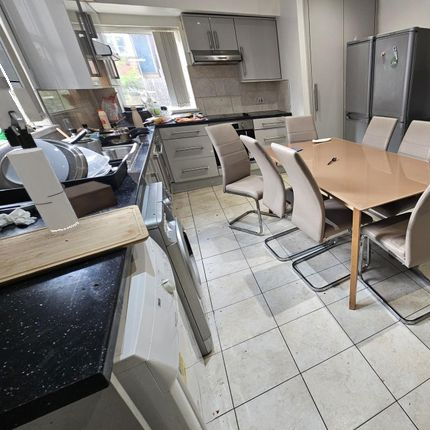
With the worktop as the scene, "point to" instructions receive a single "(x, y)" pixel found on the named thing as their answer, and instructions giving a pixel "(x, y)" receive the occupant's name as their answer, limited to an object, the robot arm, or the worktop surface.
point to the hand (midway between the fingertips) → (24, 147)
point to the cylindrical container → (44, 189)
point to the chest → (93, 202)
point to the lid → (84, 189)
